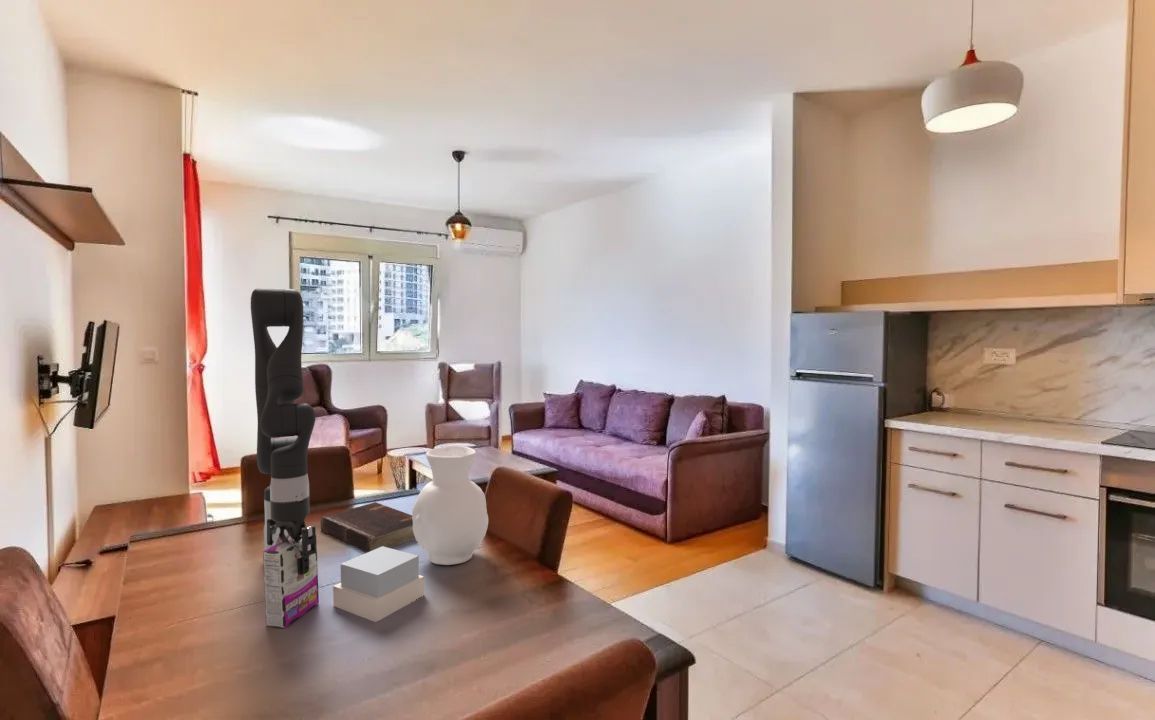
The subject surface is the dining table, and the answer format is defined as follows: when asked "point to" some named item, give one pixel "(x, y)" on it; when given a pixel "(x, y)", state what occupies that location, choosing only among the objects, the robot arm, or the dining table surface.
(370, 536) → the hardback book
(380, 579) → the top block
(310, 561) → the candy bar box
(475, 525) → the vase
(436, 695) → the dining table surface
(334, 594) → the lower block
